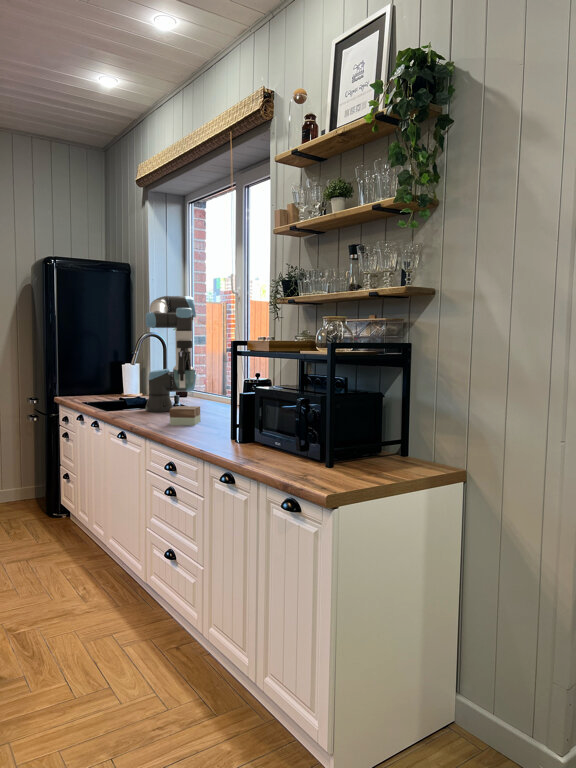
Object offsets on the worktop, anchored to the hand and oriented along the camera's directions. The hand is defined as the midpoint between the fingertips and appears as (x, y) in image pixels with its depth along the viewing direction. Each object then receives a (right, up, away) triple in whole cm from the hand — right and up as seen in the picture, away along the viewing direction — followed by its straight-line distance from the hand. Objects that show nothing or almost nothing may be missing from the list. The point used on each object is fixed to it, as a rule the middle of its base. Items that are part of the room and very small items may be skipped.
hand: (184, 386), depth 284 cm
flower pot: (0, -1, 0) cm, 1 cm away
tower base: (0, -18, +2) cm, 18 cm away
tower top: (0, -14, +1) cm, 14 cm away
